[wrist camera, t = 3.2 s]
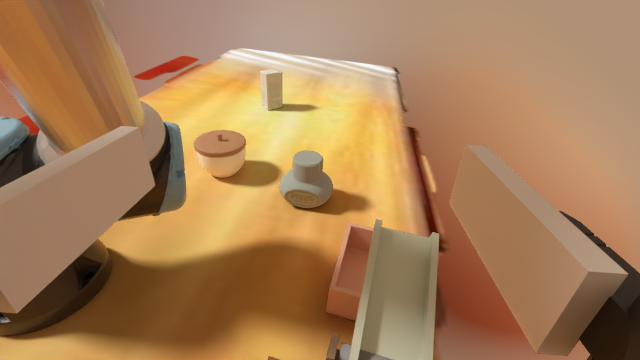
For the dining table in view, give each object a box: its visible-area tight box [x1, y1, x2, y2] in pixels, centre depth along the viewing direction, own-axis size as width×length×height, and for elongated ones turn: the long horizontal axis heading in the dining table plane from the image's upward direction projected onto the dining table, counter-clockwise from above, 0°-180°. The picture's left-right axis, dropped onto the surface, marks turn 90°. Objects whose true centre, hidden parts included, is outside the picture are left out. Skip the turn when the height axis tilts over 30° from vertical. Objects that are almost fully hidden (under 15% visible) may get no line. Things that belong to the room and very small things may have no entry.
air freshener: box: [280, 151, 333, 208], centre depth 60 cm, size 11×8×10 cm
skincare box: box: [260, 69, 283, 110], centre depth 99 cm, size 6×4×12 cm
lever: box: [268, 219, 439, 360], centre depth 20 cm, size 20×10×18 cm, turn 165°
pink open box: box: [326, 222, 374, 321], centre depth 45 cm, size 13×13×6 cm
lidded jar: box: [194, 130, 246, 178], centre depth 66 cm, size 11×11×9 cm
